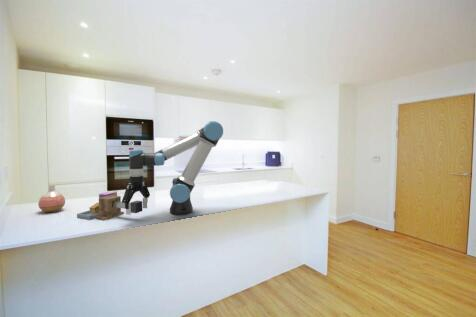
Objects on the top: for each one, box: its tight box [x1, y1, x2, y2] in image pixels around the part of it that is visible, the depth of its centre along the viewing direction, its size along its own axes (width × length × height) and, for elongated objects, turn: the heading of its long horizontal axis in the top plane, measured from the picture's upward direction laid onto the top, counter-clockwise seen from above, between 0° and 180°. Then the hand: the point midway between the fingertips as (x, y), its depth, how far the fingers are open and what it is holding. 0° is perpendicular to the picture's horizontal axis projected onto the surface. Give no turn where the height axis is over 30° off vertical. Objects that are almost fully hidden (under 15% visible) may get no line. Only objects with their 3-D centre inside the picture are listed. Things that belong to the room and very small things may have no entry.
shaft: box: [112, 200, 143, 214], centre depth 138 cm, size 26×5×6 cm, turn 72°
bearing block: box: [95, 195, 125, 221], centre depth 141 cm, size 7×14×12 cm, turn 162°
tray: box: [76, 209, 99, 221], centre depth 142 cm, size 11×13×2 cm
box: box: [98, 190, 118, 199], centre depth 155 cm, size 10×6×12 cm, turn 168°
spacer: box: [88, 202, 99, 215], centre depth 143 cm, size 5×6×4 cm
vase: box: [38, 184, 66, 214], centre depth 149 cm, size 14×14×18 cm
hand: (137, 211), depth 135 cm, fingers open, 13 cm apart
